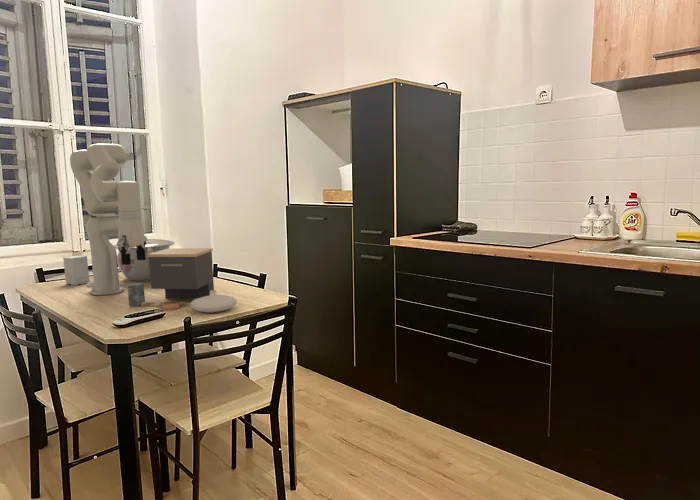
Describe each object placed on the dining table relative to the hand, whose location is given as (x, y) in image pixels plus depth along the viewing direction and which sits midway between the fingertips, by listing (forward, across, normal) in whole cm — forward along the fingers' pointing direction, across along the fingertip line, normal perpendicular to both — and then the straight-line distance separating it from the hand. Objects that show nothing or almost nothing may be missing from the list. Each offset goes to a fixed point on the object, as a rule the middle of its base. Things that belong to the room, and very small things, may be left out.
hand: (134, 262), depth 184 cm
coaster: (+16, +4, +16) cm, 23 cm away
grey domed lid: (+16, +5, +32) cm, 37 cm away
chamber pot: (+17, -50, -25) cm, 59 cm away
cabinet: (+16, -9, +14) cm, 23 cm away
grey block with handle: (+16, 0, +10) cm, 19 cm away
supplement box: (+17, -37, -52) cm, 66 cm away
